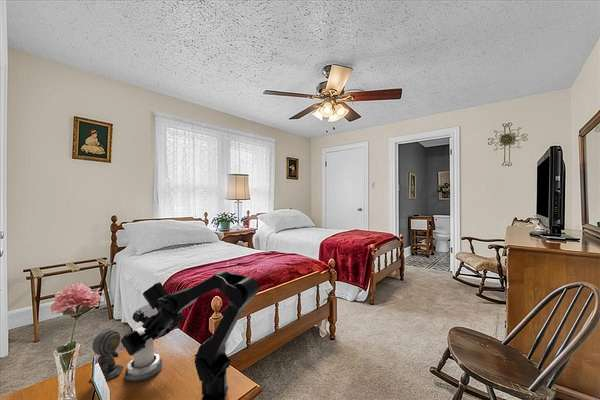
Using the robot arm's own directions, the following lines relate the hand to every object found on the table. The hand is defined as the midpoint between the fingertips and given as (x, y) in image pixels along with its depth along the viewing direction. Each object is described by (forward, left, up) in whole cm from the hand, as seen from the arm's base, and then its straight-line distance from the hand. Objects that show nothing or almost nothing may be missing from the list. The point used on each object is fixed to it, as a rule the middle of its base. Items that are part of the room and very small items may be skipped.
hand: (140, 345), depth 94 cm
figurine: (+11, +1, -9) cm, 14 cm away
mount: (-1, 0, -9) cm, 9 cm away
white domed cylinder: (-1, +1, -7) cm, 7 cm away
